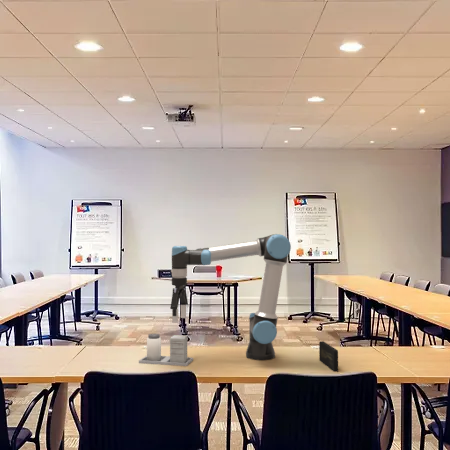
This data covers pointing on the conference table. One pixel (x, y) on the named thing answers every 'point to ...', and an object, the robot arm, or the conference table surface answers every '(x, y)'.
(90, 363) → the conference table surface
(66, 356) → the conference table surface
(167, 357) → the grey divided tray
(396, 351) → the conference table surface
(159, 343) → the bottle
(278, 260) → the robot arm
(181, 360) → the supplement box
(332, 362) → the nameplate
